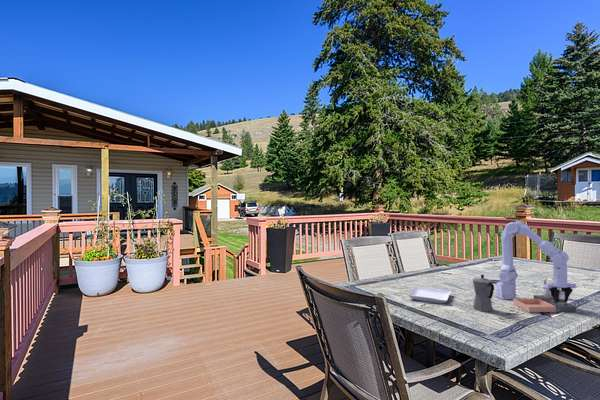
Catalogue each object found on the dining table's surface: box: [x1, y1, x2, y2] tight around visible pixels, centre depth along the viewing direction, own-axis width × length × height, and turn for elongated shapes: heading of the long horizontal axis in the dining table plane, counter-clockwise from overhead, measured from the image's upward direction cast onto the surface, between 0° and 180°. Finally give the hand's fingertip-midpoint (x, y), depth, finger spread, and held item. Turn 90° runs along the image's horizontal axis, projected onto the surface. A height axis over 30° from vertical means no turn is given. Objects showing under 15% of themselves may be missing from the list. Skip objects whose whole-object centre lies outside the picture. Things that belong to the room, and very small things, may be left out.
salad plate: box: [407, 286, 453, 304], centre depth 200 cm, size 21×21×3 cm
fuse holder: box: [533, 294, 577, 313], centre depth 182 cm, size 8×20×2 cm, turn 179°
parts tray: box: [512, 298, 557, 314], centre depth 178 cm, size 13×13×3 cm
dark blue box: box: [543, 276, 561, 297], centre depth 197 cm, size 6×8×11 cm
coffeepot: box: [472, 274, 495, 313], centre depth 178 cm, size 15×9×18 cm, turn 6°
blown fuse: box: [556, 289, 565, 305], centre depth 177 cm, size 4×4×9 cm
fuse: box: [542, 284, 551, 299], centre depth 187 cm, size 4×4×9 cm
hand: (560, 301), depth 177 cm, fingers open, 4 cm apart
